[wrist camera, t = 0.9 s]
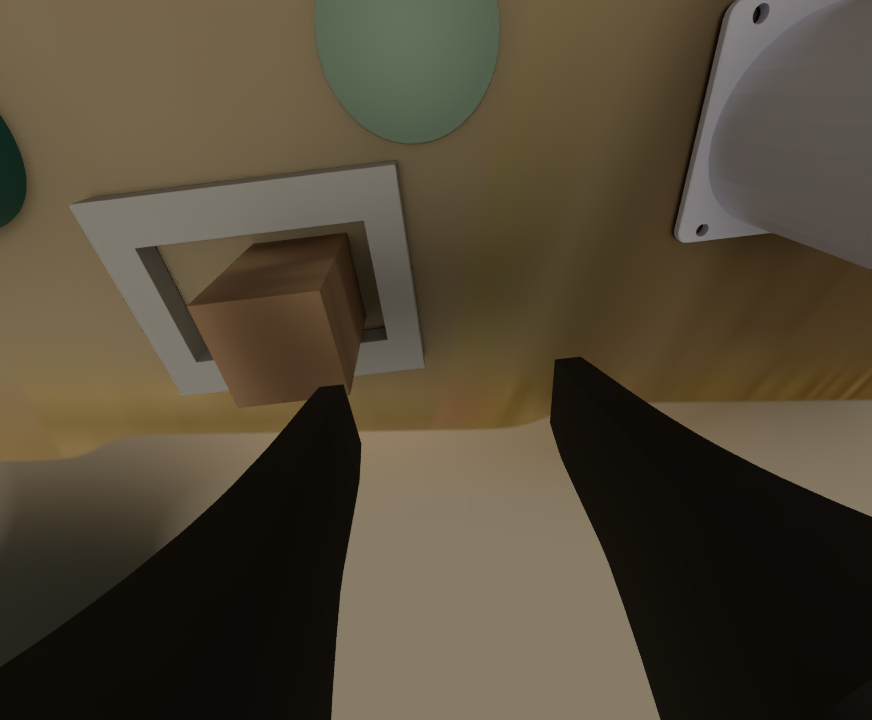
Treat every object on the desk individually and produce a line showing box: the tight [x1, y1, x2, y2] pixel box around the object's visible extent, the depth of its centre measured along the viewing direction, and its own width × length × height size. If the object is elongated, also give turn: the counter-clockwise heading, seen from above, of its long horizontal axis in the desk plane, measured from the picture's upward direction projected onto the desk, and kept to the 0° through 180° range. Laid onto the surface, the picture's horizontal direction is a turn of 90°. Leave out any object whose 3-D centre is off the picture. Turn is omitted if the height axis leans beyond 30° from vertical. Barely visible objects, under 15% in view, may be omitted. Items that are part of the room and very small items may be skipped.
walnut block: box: [187, 233, 366, 408], centre depth 15 cm, size 4×4×6 cm
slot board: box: [68, 160, 425, 396], centre depth 17 cm, size 12×9×1 cm
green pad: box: [315, 0, 500, 144], centre depth 13 cm, size 6×6×1 cm
